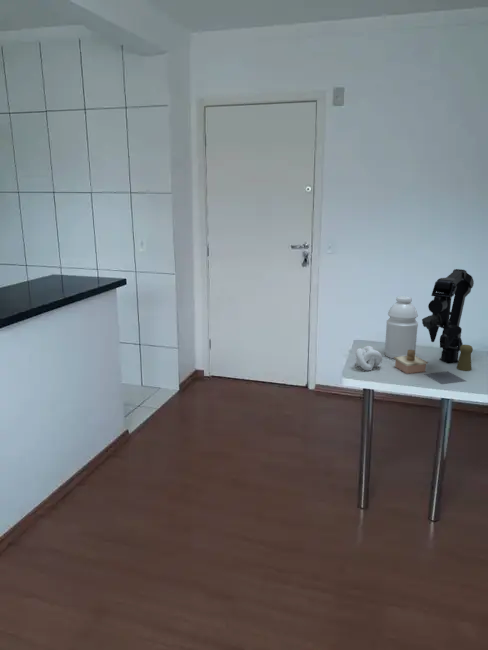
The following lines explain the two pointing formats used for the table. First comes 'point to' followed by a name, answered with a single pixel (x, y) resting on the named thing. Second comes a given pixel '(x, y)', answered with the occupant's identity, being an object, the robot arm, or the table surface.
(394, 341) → the bottle
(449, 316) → the robot arm
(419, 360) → the lid
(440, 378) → the mat
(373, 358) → the white decorative knot
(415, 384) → the table surface
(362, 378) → the table surface
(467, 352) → the olive pestle
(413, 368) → the pink open box
